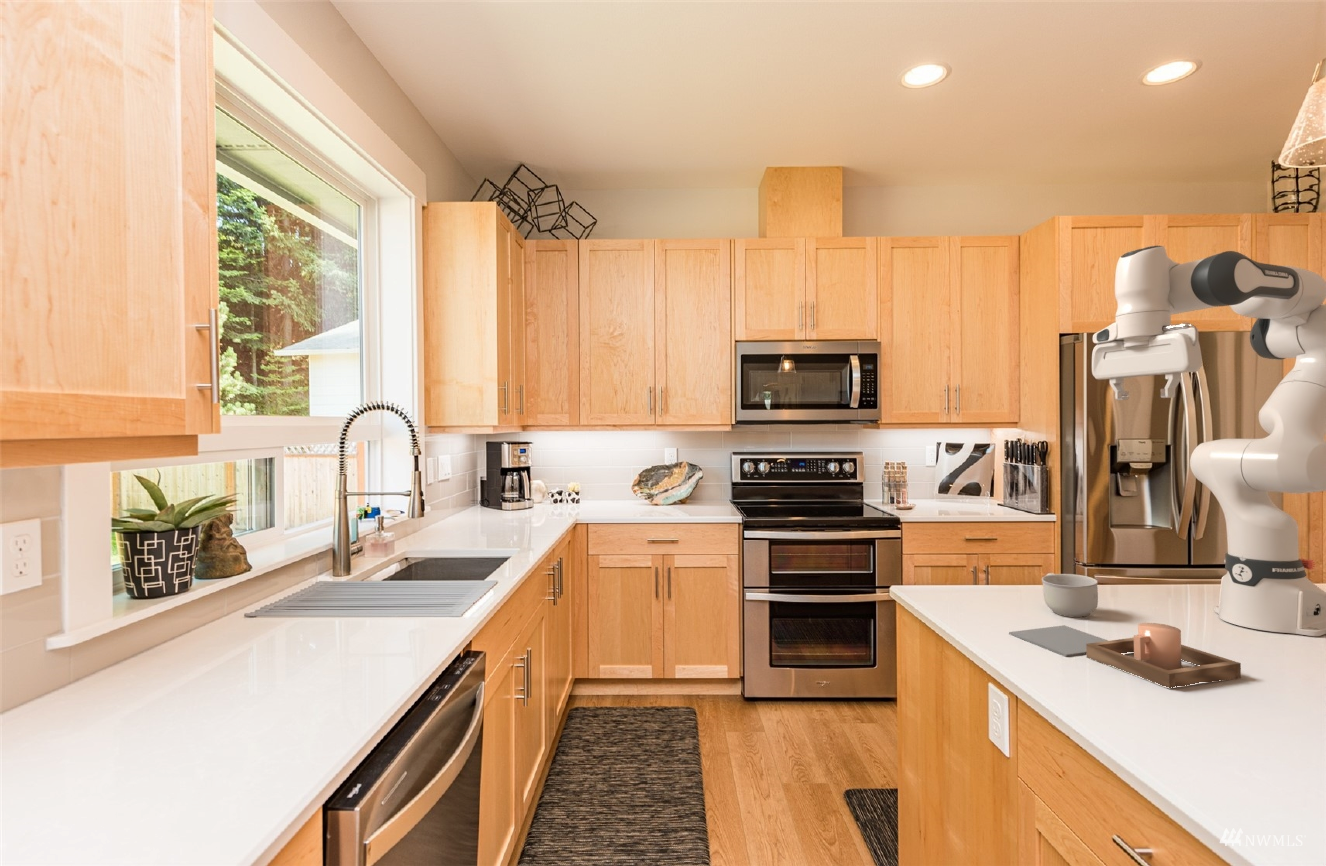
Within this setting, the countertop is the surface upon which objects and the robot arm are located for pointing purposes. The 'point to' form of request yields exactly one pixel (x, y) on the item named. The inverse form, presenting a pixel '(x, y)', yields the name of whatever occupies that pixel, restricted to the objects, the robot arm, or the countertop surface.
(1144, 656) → the mug
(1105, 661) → the tray
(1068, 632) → the coaster
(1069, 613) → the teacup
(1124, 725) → the countertop surface
